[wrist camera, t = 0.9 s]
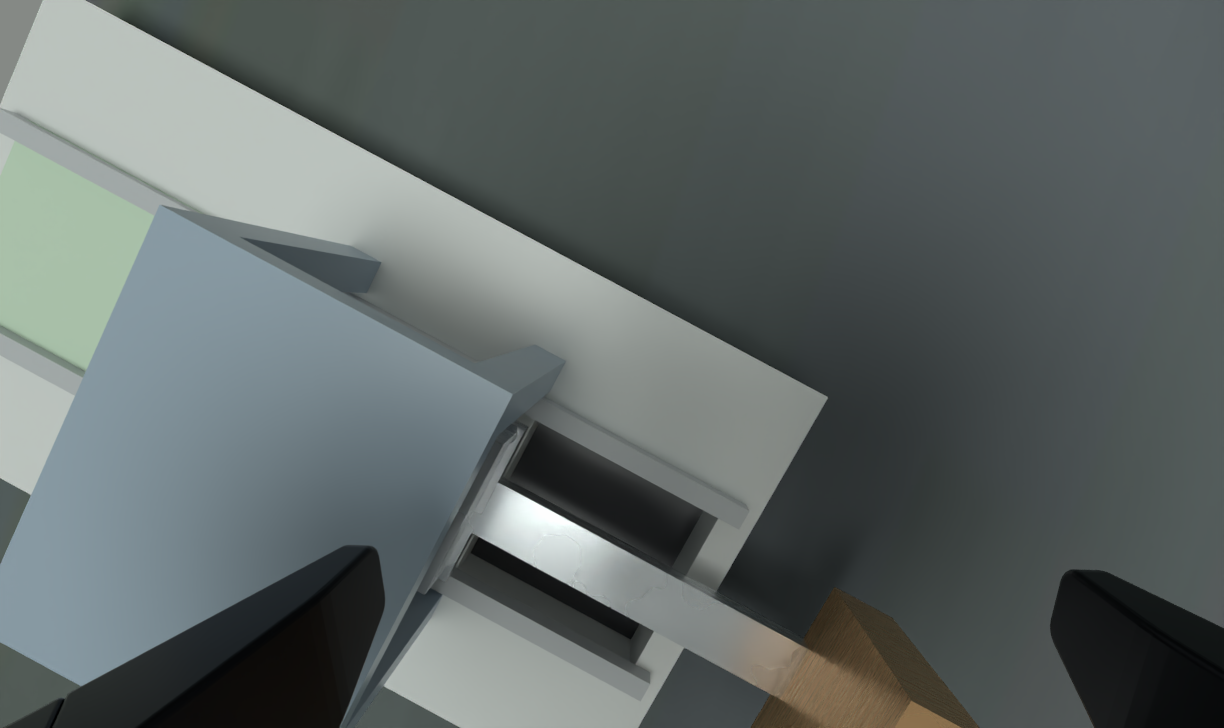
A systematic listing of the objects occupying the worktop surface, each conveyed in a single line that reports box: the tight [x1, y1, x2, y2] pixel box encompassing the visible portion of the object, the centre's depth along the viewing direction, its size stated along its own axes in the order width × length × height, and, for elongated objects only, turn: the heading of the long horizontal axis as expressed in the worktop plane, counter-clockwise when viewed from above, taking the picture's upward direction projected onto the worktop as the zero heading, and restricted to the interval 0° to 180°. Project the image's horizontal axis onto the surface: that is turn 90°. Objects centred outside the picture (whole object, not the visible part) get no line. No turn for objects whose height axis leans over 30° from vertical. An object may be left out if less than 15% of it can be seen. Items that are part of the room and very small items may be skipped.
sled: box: [417, 420, 979, 728], centre depth 15 cm, size 19×5×5 cm, turn 62°
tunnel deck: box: [0, 0, 828, 728], centre depth 17 cm, size 25×14×10 cm, turn 62°
